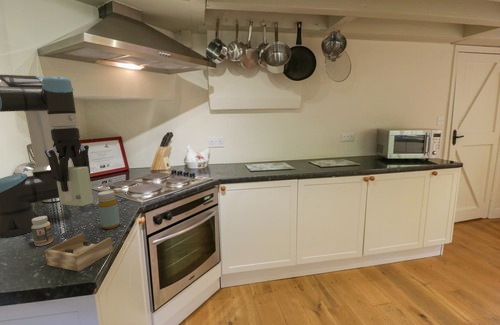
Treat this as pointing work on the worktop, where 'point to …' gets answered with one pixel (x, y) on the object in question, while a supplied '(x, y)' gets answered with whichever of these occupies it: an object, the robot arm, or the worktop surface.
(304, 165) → the worktop surface
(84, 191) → the door
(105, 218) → the bottle
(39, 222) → the pill bottle
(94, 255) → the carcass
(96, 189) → the worktop surface
